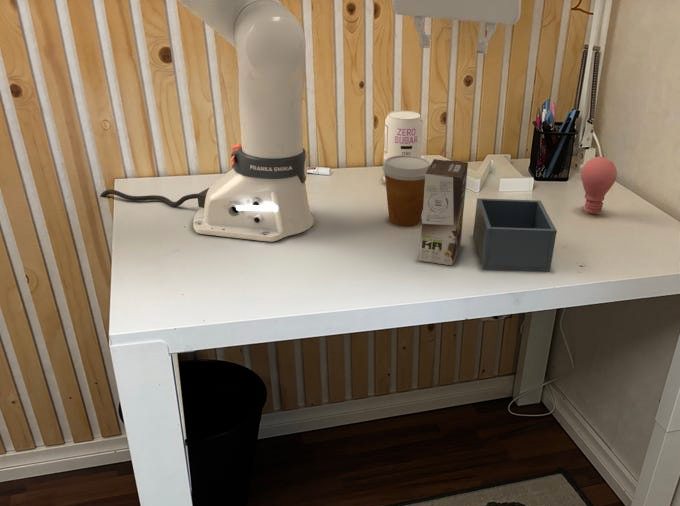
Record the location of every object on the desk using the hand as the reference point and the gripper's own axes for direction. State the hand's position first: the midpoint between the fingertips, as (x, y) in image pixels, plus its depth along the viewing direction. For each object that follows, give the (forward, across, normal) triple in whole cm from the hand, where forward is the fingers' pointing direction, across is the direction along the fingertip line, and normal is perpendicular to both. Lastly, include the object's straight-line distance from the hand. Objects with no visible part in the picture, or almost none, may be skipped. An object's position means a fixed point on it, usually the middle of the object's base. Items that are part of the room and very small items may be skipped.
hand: (453, 50), depth 119 cm
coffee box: (+34, +1, -4) cm, 35 cm away
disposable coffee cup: (+34, -8, +9) cm, 37 cm away
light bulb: (+34, +28, +27) cm, 52 cm away
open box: (+34, +14, +1) cm, 37 cm away
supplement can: (+34, -14, +32) cm, 49 cm away
